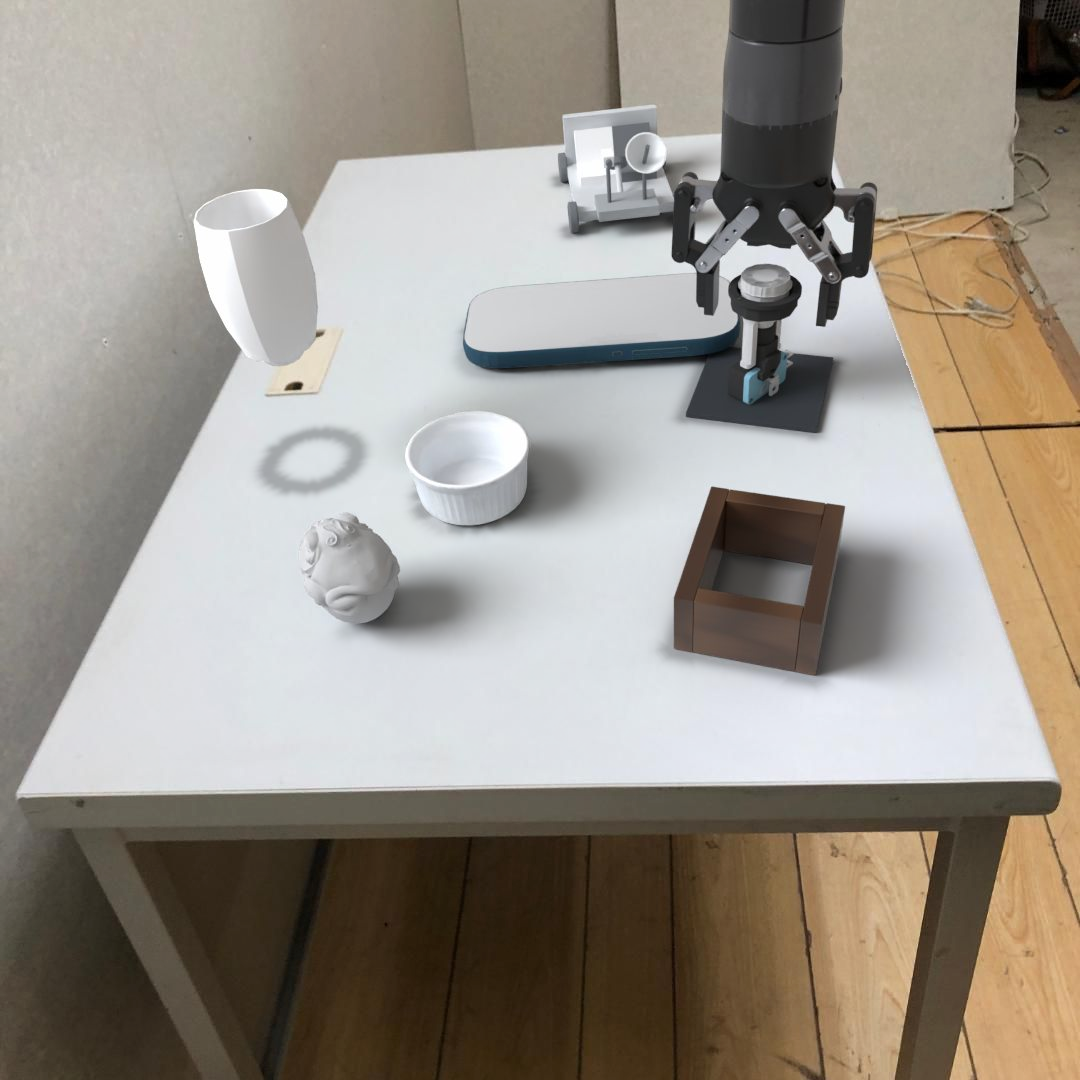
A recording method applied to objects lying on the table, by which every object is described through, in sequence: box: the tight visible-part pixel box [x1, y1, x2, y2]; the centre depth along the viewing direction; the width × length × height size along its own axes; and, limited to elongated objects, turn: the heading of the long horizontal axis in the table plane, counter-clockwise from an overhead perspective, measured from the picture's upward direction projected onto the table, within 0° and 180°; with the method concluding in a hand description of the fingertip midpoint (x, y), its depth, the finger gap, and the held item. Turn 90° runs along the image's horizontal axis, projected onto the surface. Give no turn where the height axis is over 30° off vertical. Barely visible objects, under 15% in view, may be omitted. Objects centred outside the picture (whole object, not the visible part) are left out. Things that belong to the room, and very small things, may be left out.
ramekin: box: [404, 410, 530, 526], centre depth 77 cm, size 9×9×4 cm
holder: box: [673, 486, 846, 676], centre depth 66 cm, size 9×11×4 cm
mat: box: [685, 346, 834, 434], centre depth 85 cm, size 10×10×1 cm
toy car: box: [557, 104, 676, 234], centre depth 108 cm, size 18×10×12 cm
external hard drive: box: [462, 272, 741, 369], centre depth 92 cm, size 24×12×2 cm, turn 88°
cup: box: [193, 188, 319, 367], centre depth 76 cm, size 7×7×21 cm
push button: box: [728, 263, 803, 405], centre depth 81 cm, size 7×5×10 cm
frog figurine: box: [298, 512, 401, 624], centre depth 68 cm, size 6×7×7 cm
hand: (766, 315), depth 81 cm, fingers open, 8 cm apart
